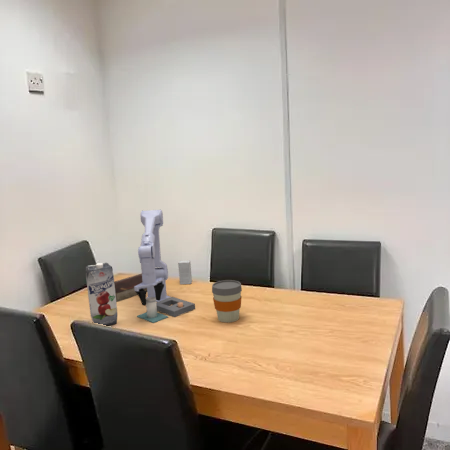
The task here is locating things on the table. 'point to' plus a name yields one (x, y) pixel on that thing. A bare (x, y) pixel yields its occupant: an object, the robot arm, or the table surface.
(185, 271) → the skincare box
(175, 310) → the grey board with holes
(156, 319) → the mat
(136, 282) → the hardback book
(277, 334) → the table surface
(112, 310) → the juice carton
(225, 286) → the reusable coffee cup
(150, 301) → the filter cartridge
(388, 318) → the table surface
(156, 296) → the robot arm
